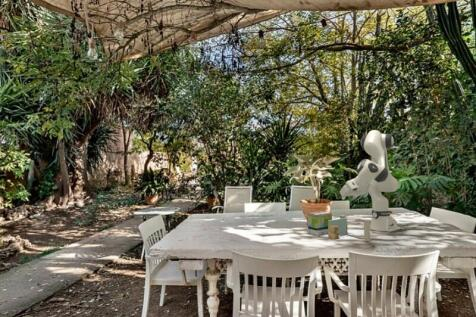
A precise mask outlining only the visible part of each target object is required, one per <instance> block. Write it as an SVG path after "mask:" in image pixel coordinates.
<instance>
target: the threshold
mask: <svg viewBox="0 0 476 317" xmlns="http://www.w3.org/2000/svg"><path fill="white" fill-rule="evenodd" d="M346 236H348V237H351V238H356V239H359V240H364V237H361V236H357V235H352V234H346Z"/></svg>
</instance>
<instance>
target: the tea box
mask: <svg viewBox="0 0 476 317" xmlns="http://www.w3.org/2000/svg"><path fill="white" fill-rule="evenodd" d="M328 220H333V213H332V212H328V211H323V210H322V211H321V210H320V211H314V212H307V234H309V235H314V236H321V235H328Z"/></svg>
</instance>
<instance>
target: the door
mask: <svg viewBox="0 0 476 317" xmlns="http://www.w3.org/2000/svg"><path fill="white" fill-rule="evenodd" d="M332 225H334V226H338V227H339V236H343V235H348V217H346V218H342V219H340V218H336V219H332V220H328V226H332ZM327 237H328V238H329V235H328V234H327Z"/></svg>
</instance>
